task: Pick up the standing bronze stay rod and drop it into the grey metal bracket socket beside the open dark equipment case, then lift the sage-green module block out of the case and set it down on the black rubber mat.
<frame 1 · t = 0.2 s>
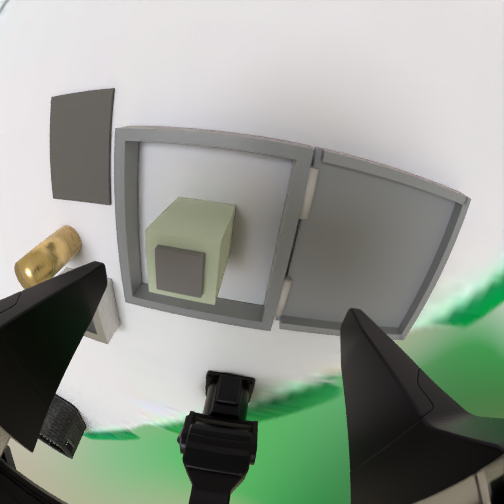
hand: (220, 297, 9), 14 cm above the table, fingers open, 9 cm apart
case: (204, 227, 24), on the table
module: (193, 247, 21), in the case
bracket: (92, 296, 30), on the table
mat: (78, 147, 21), on the table
rod: (69, 240, 26), on the table
storage bin: (44, 395, 54), on the table
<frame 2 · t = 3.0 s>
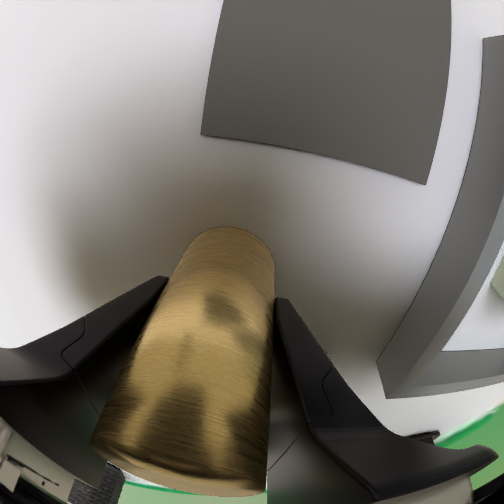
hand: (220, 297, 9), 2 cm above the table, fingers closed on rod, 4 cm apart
mat: (347, 10, 6), on the table
rod: (228, 269, 11), on the table, touching gripper
storage bin: (68, 446, 38), on the table
when the fingers open (4 cm above the table, at t = 6.1 s): rod drops 2 cm, resting on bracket.
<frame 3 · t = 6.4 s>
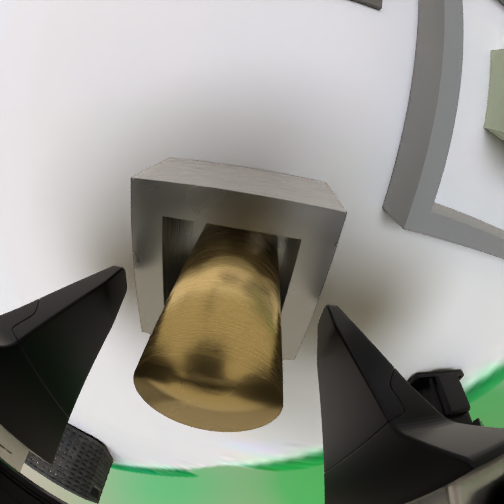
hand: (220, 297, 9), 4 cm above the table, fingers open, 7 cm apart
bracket: (236, 239, 13), on the table
rod: (238, 246, 13), point 1 cm above the table, touching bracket
storage bin: (53, 422, 37), on the table
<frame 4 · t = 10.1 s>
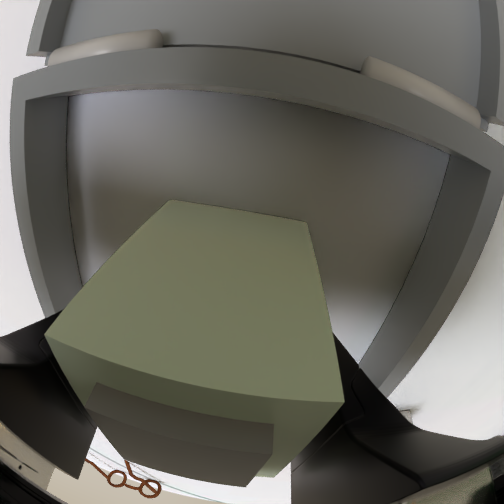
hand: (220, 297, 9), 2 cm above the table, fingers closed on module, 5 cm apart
case: (228, 269, 11), on the table
module: (209, 339, 8), in the case, touching gripper
glasses: (119, 462, 34), on the table
when the fingers open (3 cm above the table, at t = 14.5 s): module drops 1 cm, resting on mat.
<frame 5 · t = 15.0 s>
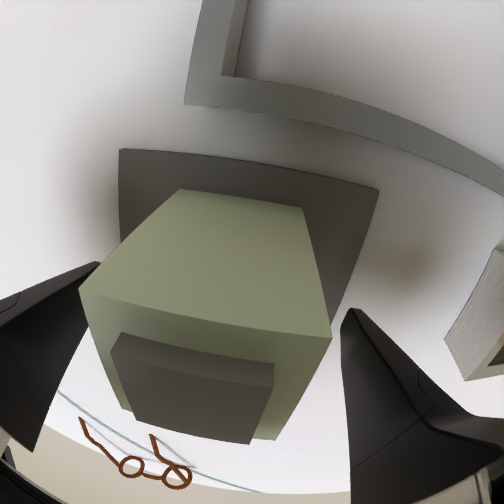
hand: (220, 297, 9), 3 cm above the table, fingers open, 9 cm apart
case: (428, 7, 6), on the table
module: (216, 308, 9), resting on mat
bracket: (497, 301, 13), on the table
mat: (233, 250, 12), on the table
glasses: (137, 443, 29), on the table
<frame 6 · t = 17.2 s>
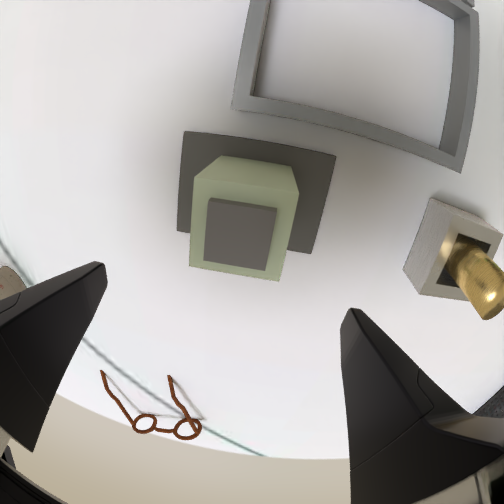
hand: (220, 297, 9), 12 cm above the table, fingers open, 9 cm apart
case: (369, 42, 14), on the table
module: (245, 210, 17), resting on mat
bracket: (444, 242, 21), on the table
mat: (251, 193, 20), on the table
rod: (449, 244, 20), point 1 cm above the table, touching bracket
thermos bottle: (15, 288, 29), on the table
storage bin: (499, 399, 38), on the table
glasses: (153, 394, 37), on the table
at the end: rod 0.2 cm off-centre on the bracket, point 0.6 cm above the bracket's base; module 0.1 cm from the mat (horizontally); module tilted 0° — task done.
